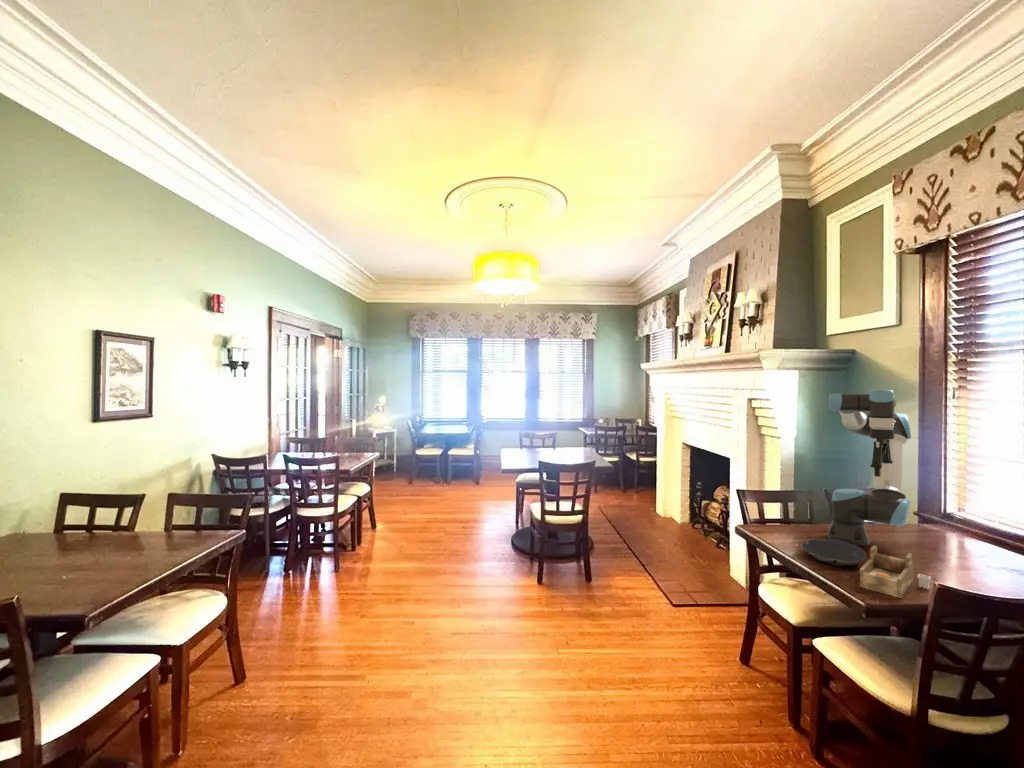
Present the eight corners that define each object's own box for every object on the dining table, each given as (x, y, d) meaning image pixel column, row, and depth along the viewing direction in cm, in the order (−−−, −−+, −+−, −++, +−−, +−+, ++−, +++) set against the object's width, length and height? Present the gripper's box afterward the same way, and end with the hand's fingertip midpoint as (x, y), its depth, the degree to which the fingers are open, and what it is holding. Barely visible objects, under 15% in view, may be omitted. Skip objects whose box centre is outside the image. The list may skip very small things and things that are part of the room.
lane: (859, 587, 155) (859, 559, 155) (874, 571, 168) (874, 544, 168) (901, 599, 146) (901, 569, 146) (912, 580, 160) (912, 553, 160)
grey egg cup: (917, 586, 155) (917, 576, 155) (918, 584, 157) (918, 573, 157) (929, 590, 152) (929, 579, 152) (931, 587, 154) (931, 576, 154)
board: (882, 566, 172) (881, 553, 172) (840, 576, 166) (839, 563, 166) (827, 546, 193) (826, 535, 193) (788, 555, 187) (788, 543, 187)
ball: (871, 578, 153) (874, 567, 156) (873, 588, 155) (876, 577, 158) (890, 583, 149) (892, 572, 152) (891, 593, 151) (894, 582, 154)
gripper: (886, 431, 163) (887, 488, 163) (900, 427, 179) (900, 478, 179) (861, 430, 169) (861, 484, 169) (877, 425, 185) (877, 475, 185)
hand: (881, 481), depth 174 cm, fingers open, 13 cm apart
